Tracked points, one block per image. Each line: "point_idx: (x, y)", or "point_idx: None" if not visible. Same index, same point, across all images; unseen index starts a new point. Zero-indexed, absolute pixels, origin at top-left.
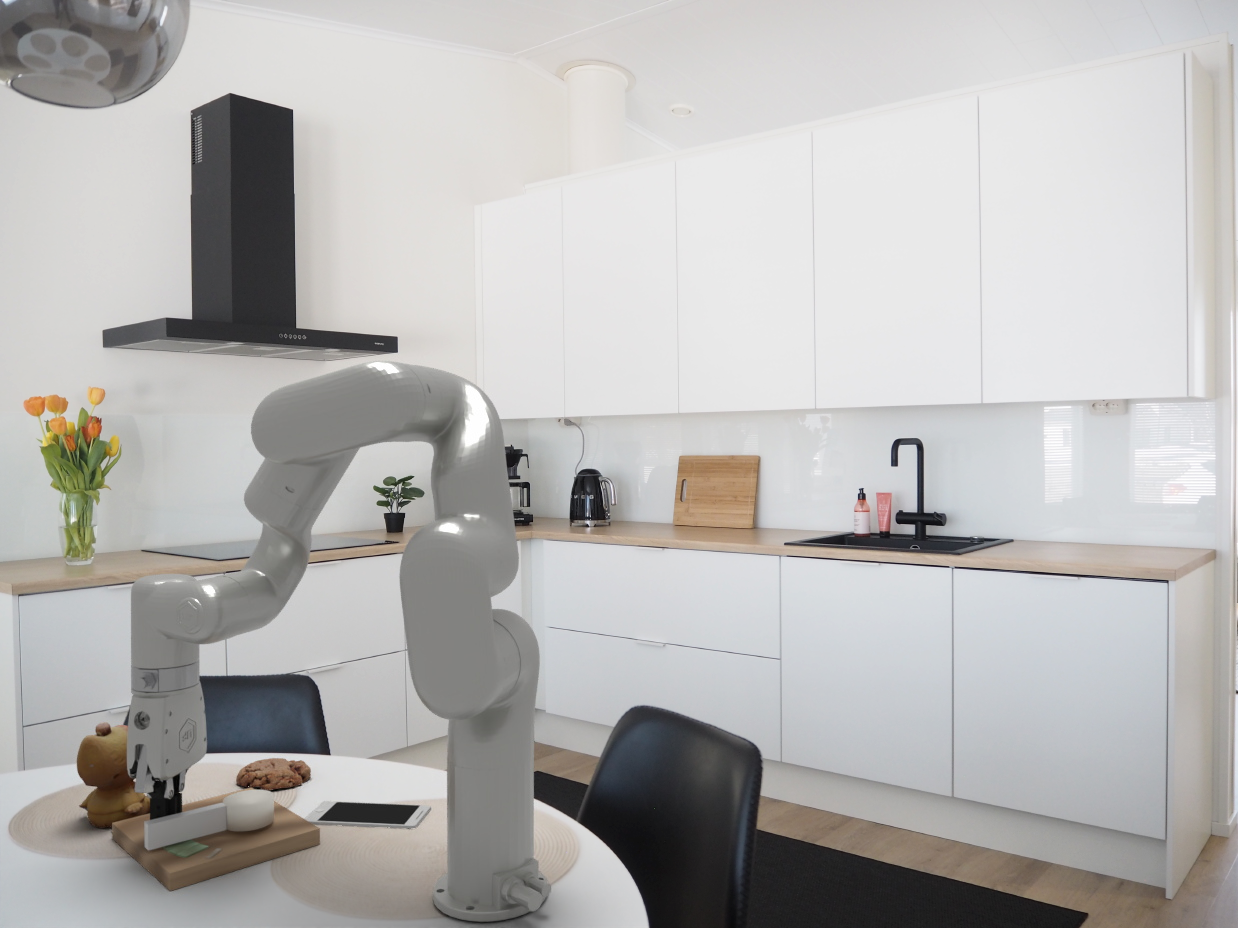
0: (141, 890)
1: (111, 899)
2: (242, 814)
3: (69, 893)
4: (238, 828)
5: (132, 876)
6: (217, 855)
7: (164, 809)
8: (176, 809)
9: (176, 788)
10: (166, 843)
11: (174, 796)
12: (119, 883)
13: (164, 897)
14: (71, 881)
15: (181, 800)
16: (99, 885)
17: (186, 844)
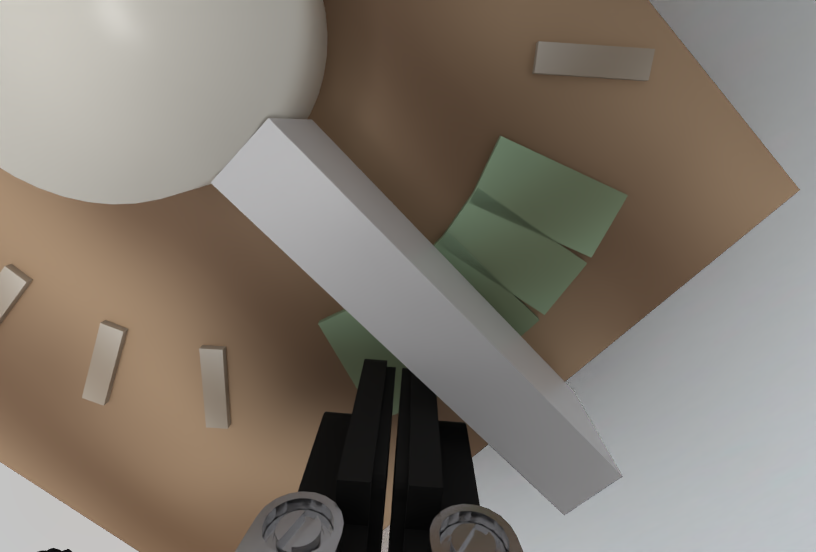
0: (713, 294)
1: (772, 361)
2: None
3: (696, 503)
4: (324, 27)
5: (584, 380)
6: (605, 34)
7: (475, 480)
8: (417, 420)
9: (341, 546)
10: (525, 341)
11: (415, 499)
12: (639, 395)
13: (797, 175)
14: (606, 537)
15: (355, 440)
16: (647, 448)
17: (478, 260)
